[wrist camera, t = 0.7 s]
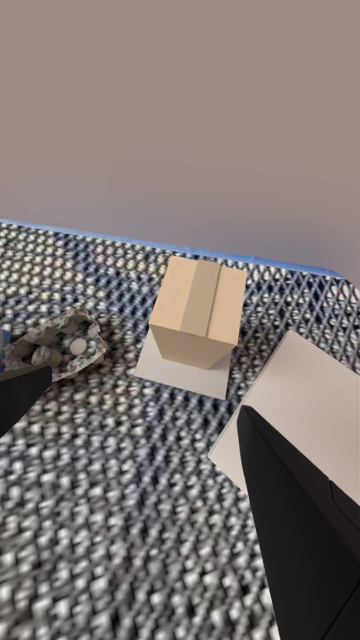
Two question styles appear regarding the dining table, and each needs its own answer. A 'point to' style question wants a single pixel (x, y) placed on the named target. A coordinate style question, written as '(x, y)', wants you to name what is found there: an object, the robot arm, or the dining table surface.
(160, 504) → the dining table surface
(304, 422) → the off-white pad
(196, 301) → the kraft carton
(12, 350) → the egg carton
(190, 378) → the grey mat
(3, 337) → the medicine box
